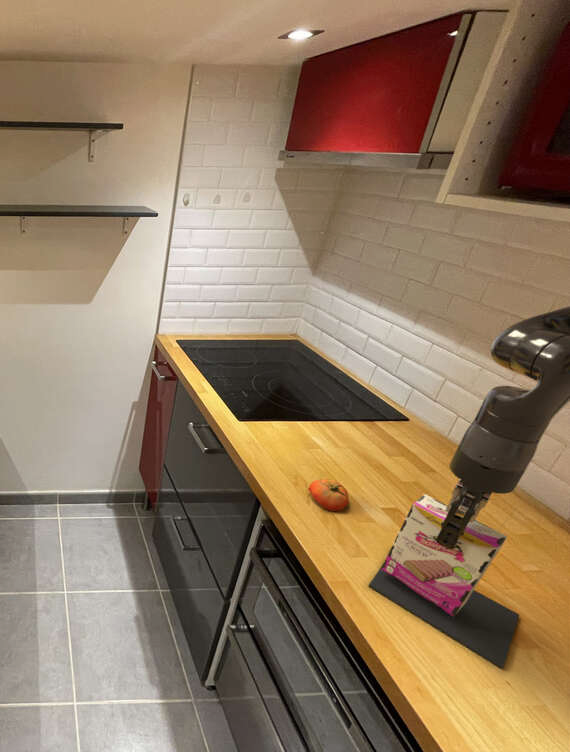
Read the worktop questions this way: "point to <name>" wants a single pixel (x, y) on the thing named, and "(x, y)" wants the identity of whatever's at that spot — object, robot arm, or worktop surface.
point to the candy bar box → (440, 556)
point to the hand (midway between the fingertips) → (448, 536)
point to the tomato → (329, 494)
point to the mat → (458, 618)
